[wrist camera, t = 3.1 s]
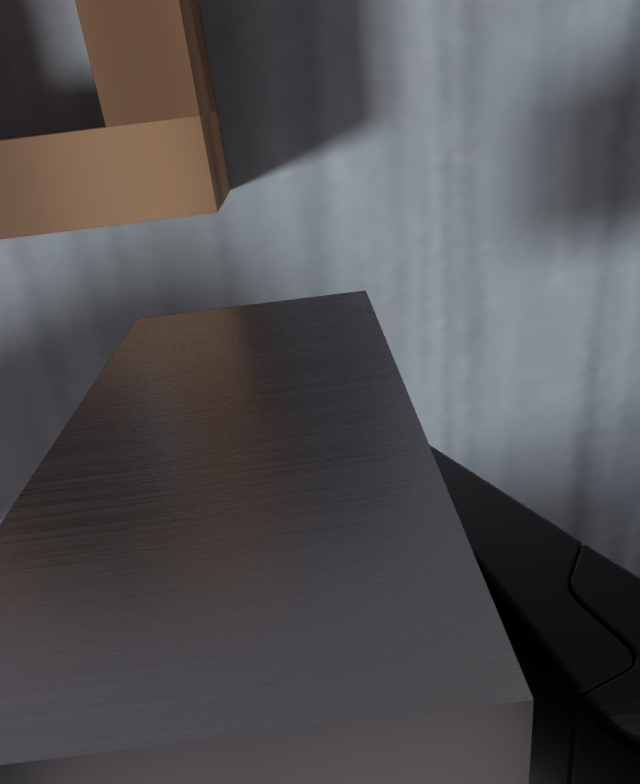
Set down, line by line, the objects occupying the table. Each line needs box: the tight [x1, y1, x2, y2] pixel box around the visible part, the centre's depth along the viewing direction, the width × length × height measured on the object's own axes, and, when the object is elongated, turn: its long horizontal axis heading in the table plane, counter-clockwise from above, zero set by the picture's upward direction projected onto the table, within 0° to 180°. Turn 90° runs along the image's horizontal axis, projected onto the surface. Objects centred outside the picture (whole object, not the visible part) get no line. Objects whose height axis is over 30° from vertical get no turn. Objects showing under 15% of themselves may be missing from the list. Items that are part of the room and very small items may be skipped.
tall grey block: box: [0, 291, 534, 784], centre depth 8 cm, size 4×4×8 cm
